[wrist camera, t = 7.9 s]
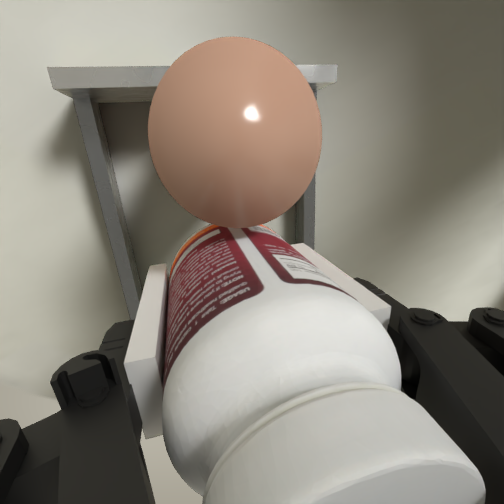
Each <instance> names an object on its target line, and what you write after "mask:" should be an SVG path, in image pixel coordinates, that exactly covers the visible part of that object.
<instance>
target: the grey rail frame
mask: <svg viewBox="0 0 504 504" xmlns="http://www.w3.org/2000/svg"><path fill="white" fill-rule="evenodd" d="M295 66H296V67H297V68H298V69H299V70H300V72H301V73H302V74H303V76H304V77H305V79H306V80H307V82H308V84H309V86H310V87H311V89H312V91H313V94H314V96H315V99H316V100H317V91H318V90H320V89H322V88H325V87H327V86H329V85H331V84H333V83H336V82H337V64H325V65H295ZM169 68H170V66H129V67H47V69H48V73H49V76H50V80H51V83H52V87H53V89H54V90H56V91H59V92H61V93H63V94H65V95H67V96H69V97H71V98H73V101H74V105H75V109H76V113H77V117H78V120H79V124H80V128H81V132H82V136H83V140H84V143H85V147H86V151H87V155H88V159H89V162H90V166H91V170H92V174H93V178H94V182H95V185H96V189H97V193H98V197H99V201H100V204H101V208H102V212H103V216H104V220H105V224H106V227H107V231H108V235H109V239H110V243H111V246H112V250H113V254H114V258H115V262H116V266H117V269H118V273H119V277H120V281H121V285H122V288H123V292H124V296H125V300H126V304H127V308H128V311H129V315H130V319H131V320H134V319H136V315H137V311H138V308H139V304H140V300H141V296H142V288H141V284H140V280H139V276H138V271H137V267H136V263H135V259H134V254H133V250H132V246H131V241H130V237H129V233H128V229H127V224H126V220H125V216H124V212H123V207H122V203H121V199H120V194H119V190H118V186H117V182H116V177H115V173H114V169H113V165H112V160H111V156H110V152H109V147H108V143H107V139H106V135H105V130H104V126H103V122H102V118H101V113H100V109H99V105H98V103H110V102H139V101H152V99H153V96H154V93H155V91H156V89H157V87H158V84H159V82H160V81H161V79H162V77H163V76H164V74H165V73H166V71H167V70H168V69H169ZM314 226H315V174H314V176H313V178H312V180H311V182H310V184H309V186H308V187H307V189H306V191H305V192H304V193H303V195H302V196H301V197H300V199H299V200H298V201H297V202H296V244H299V243H304V244H306V245H307V246H309V247H310V248H311V249H313V250H314Z"/></svg>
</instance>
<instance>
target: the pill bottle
mask: <svg viewBox="0 0 504 504" xmlns="http://www.w3.org/2000/svg"><path fill="white" fill-rule="evenodd" d="M162 429H163V437H164V442H165V446H166V450H167V452H168V455H169V457H170V460H171V462H172V464H173V466H174V468H175V469H176V470H177V472H178V473H179V475H180V476H181V478H182V479H183V480H184V481H185V482H186V483H187V484H188V485H189V486H190V487H191V488H192V489H193V490H194V491H195V492H197V493H198V494H200V495H201V496H203V504H485V497H486V489H485V485H484V482H483V479H482V476H481V474H480V473H479V471H478V469H477V468H476V466H475V465H474V464H473V463H472V462H471V461H470V460H469V458H468V457H467V456H466V455H465V454H464V452H463V451H462V450H461V449H460V448H459V447H458V446H457V445H456V444H455V442H454V441H453V440H452V439H451V438H450V437H449V436H448V435H447V434H446V432H445V431H444V430H443V429H442V428H441V427H440V426H439V425H438V424H437V422H436V421H435V420H434V419H433V418H432V417H431V416H430V415H429V414H428V412H427V411H426V410H425V409H424V408H423V407H422V406H421V405H420V404H419V403H417V402H416V401H414V400H413V399H411V398H409V397H408V396H407V395H406V394H405V393H403V392H401V368H400V362H399V358H398V355H397V352H396V349H395V346H394V344H393V342H392V340H391V338H390V336H389V334H388V333H387V331H386V330H385V328H384V327H383V326H382V324H381V323H380V322H379V321H378V320H377V319H376V318H375V316H374V315H372V314H371V313H370V312H369V311H368V310H367V309H366V308H365V307H364V306H363V305H362V304H360V303H359V302H358V301H357V300H356V299H355V298H354V297H352V296H351V295H350V294H349V293H348V292H346V291H345V290H344V289H342V288H341V287H340V286H339V285H338V284H336V283H335V282H334V281H333V280H332V279H331V278H329V277H328V276H327V275H326V274H324V273H323V272H322V271H321V270H320V269H318V268H317V267H316V266H315V265H314V264H312V263H311V262H310V261H309V260H308V259H306V258H305V257H304V256H303V255H301V254H300V253H299V252H298V251H297V250H296V249H294V248H293V247H292V246H291V245H289V244H288V243H287V242H286V241H285V240H284V239H282V238H281V237H280V236H279V235H278V234H276V233H275V232H274V231H272V230H271V229H269V228H268V227H266V226H264V225H262V224H261V225H258V226H253V227H248V228H227V227H222V226H217V225H214V224H209V225H207V226H205V227H203V228H202V229H200V230H198V231H197V232H196V233H194V234H193V235H192V236H191V237H189V238H188V239H187V240H186V241H185V243H184V244H183V245H182V246H181V248H180V249H179V251H178V252H177V254H176V256H175V258H174V261H173V264H172V267H171V271H170V277H169V291H168V310H167V329H166V347H165V363H164V381H163V397H162Z"/></svg>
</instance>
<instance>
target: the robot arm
mask: <svg viewBox="0 0 504 504" xmlns="http://www.w3.org/2000/svg"><path fill="white" fill-rule="evenodd" d="M291 246H292V247H293V248H294V249H296V250H297V251H298V252H299V253H300V254H301V255H303V256H304V257H305V258H306V259H308V260H309V261H310V262H311V263H312V264H314V265H315V266H316V267H317V268H318V269H320V270H321V271H322V272H323V273H324V274H326V275H327V276H328V277H329V278H331V279H332V280H333V281H334V282H335V283H336V284H338V285H339V286H340V287H341V288H342V289H344V290H345V291H346V292H348V293H349V294H350V295H351V296H352V297H354V298H355V299H356V300H357V301H358V302H359V303H360V304H362V305H363V306H364V307H365V308H366V309H367V310H368V311H369V312H370V313H371V314H372V315H374V316H375V318H376V319H377V320H378V321H379V322H380V323H381V324H382V326H383V327H384V328H385V330H386V331H387V333H388V334H389V336H390V338H391V340H392V342H393V344H394V346H395V349H396V352H397V355H398V358H399V362H400V368H401V392H403V393H405V394H406V395H407V396H408V397H409V398H411V399H413V400H414V401H416V402H417V403H419V404H420V405H421V406H422V407H423V408H424V409H425V410H426V411H427V412H428V414H429V415H430V416H431V417H432V418H433V419H434V420H435V421H436V422H437V424H438V425H439V426H440V427H441V428H442V429H443V430H444V431H445V432H446V434H447V435H448V436H449V437H450V438H451V439H452V440H453V441H454V442H455V444H456V445H457V446H458V447H459V448H460V449H461V450H462V451H463V452H464V454H465V455H466V456H467V457H468V458H469V460H470V461H471V462H472V463H473V464H474V465H475V466H476V468H477V469H478V471H479V473H480V474H481V476H482V479H483V482H484V485H485V489H486V497H485V504H504V311H501V310H499V309H495V308H476V309H473V310H472V311H471V313H470V316H469V320H468V322H448V321H447V320H446V319H445V318H444V317H443V316H441V315H440V314H438V313H435V312H433V311H430V310H426V309H421V308H410V309H408V308H407V307H405V306H404V305H402V304H401V303H399V302H398V301H396V300H395V299H393V298H392V297H390V296H389V295H388V294H385V292H383V291H382V290H380V289H378V288H377V287H376V286H374V285H373V284H371V283H370V282H368V281H365V280H363V279H360V278H351V277H350V276H349V275H347V274H346V273H344V272H343V271H342V270H340V269H339V268H337V267H336V266H335V265H333V264H332V263H331V262H329V261H328V260H326V259H325V258H324V257H322V256H321V255H320V254H318V253H317V252H315V251H314V250H313V249H311V248H310V247H309V246H307V245H306V244H304V243H299V244H292V245H291ZM168 291H169V274H168V269H167V264H166V263H164V264H157V265H150V266H149V270H148V274H147V277H146V281H145V285H144V289H143V292H142V296H141V300H140V304H139V308H138V311H137V315H136V319H134V320H129V321H123V322H118V323H115V324H114V325H113V326H112V327H111V328H110V329H109V330H108V331H107V332H106V334H105V336H104V339H103V341H102V344H101V346H100V348H99V350H96V351H90V352H87V353H83V354H81V355H78V356H76V357H74V358H72V359H70V360H69V361H67V362H66V363H65V364H63V365H62V366H61V367H60V368H59V369H58V370H57V371H56V372H55V373H54V374H53V376H52V379H51V381H50V383H51V386H52V388H53V390H54V393H55V395H56V398H57V400H58V402H59V405H60V407H61V409H62V410H60V411H59V412H57V413H55V414H53V415H51V416H49V417H47V418H45V419H43V420H41V421H38V422H36V423H34V424H32V425H30V426H28V427H26V428H23V429H21V427H20V425H19V424H18V422H17V421H16V420H12V419H3V420H0V504H155V500H154V496H153V492H152V488H151V483H150V480H149V475H148V471H147V467H146V463H145V459H144V455H143V451H142V448H141V445H140V439H141V431H142V429H143V432H144V435H145V439H149V438H153V437H156V436H160V435H163V429H162V397H163V381H164V363H165V347H166V329H167V310H168Z"/></svg>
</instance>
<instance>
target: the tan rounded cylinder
mask: <svg viewBox="0 0 504 504" xmlns="http://www.w3.org/2000/svg"><path fill="white" fill-rule="evenodd" d="M148 140H149V149H150V153H151V157H152V161H153V164H154V166H155V169H156V171H157V174H158V176H159V178H160V180H161V181H162V183H163V185H164V186H165V188H166V189H167V191H168V192H169V194H170V195H171V196H172V197H173V198H174V199H175V200H176V201H177V203H178V204H180V205H181V206H182V207H183V208H184V209H185V210H187V211H188V212H189V213H191V214H192V215H194V216H196V217H197V218H199V219H201V220H203V221H205V222H208V223H211V224H214V225H217V226H222V227H227V228H248V227H253V226H258V225H261V224H264V223H267V222H269V221H271V220H273V219H275V218H277V217H279V216H280V215H282V214H283V213H285V212H286V211H287V210H288V209H290V208H291V207H292V206H293V205H294V204H295V203H296V202H297V201H298V200H299V199H300V197H301V196H302V195H303V193H304V192H305V191H306V189H307V187H308V186H309V184H310V182H311V180H312V178H313V176H314V174H315V171H316V168H317V165H318V162H319V158H320V152H321V144H322V125H321V118H320V112H319V109H318V105H317V101H316V99H315V96H314V94H313V91H312V89H311V87H310V86H309V84H308V82H307V80H306V79H305V77H304V76H303V74H302V73H301V72H300V70H299V69H298V68H297V67H296V66H295V65H294V64H293V62H292V61H291V60H289V59H288V58H287V57H286V56H285V55H283V54H282V53H281V52H279V51H278V50H276V49H274V48H273V47H271V46H269V45H267V44H265V43H262V42H260V41H257V40H253V39H249V38H243V37H221V38H216V39H212V40H208V41H206V42H203V43H201V44H198V45H196V46H194V47H193V48H191V49H190V50H188V51H186V52H185V53H184V54H183V55H181V56H180V57H179V58H178V59H177V60H176V61H175V62H174V63H173V64H172V65H171V66H170V68H169V69H168V70H167V71H166V73H165V74H164V76H163V77H162V79H161V81H160V82H159V84H158V87H157V89H156V91H155V93H154V96H153V99H152V103H151V107H150V112H149V119H148Z"/></svg>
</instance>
